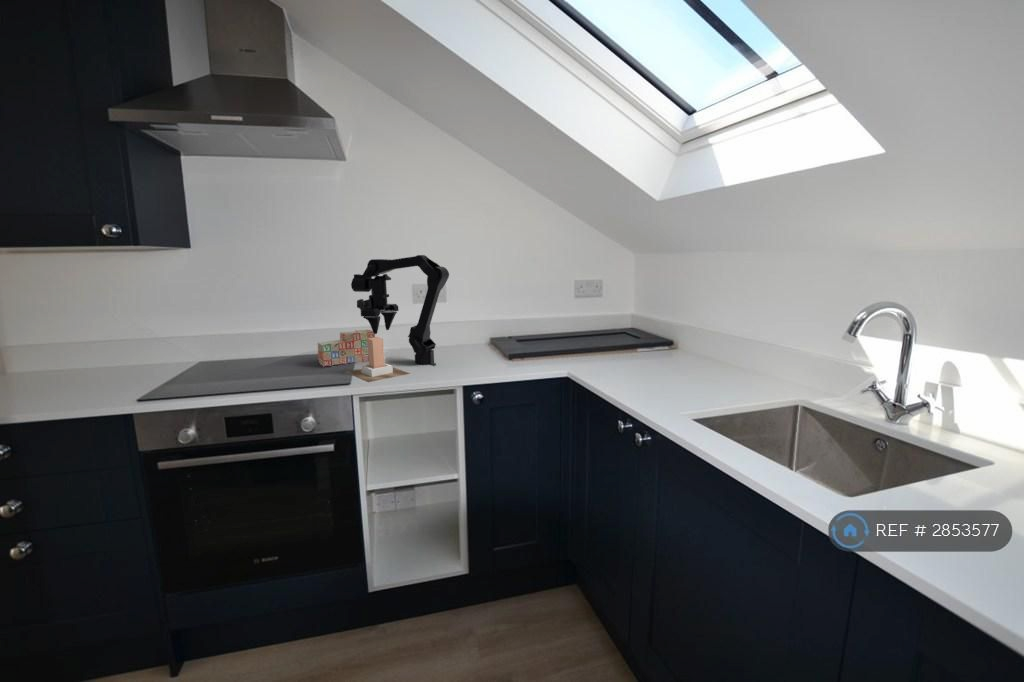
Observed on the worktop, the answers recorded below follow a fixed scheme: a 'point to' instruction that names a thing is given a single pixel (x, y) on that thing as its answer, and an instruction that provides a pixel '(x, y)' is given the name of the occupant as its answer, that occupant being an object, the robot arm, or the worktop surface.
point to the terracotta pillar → (376, 352)
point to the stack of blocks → (345, 348)
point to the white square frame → (377, 370)
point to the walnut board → (368, 378)
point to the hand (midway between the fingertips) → (381, 331)
